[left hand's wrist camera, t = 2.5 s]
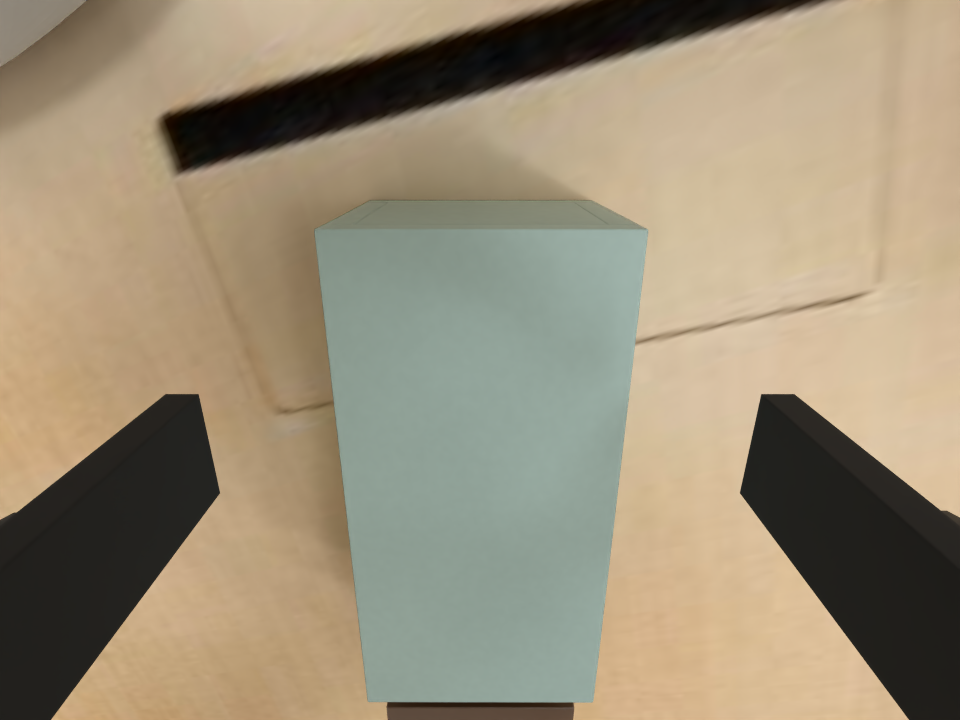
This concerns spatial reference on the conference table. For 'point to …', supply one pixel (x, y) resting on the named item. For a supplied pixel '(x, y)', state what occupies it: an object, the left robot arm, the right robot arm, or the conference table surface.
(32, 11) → the projector
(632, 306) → the cabinet
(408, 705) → the drawer
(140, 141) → the conference table surface
